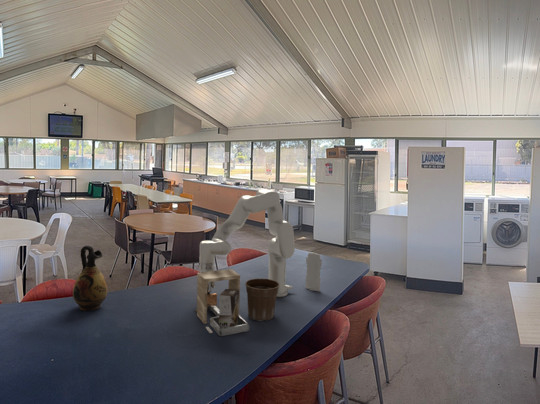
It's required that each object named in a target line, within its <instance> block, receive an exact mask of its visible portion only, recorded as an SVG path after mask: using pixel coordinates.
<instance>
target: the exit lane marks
mask: <svg viewBox="0 0 540 404" xmlns="http://www.w3.org/2000/svg"><path fill="white" fill-rule="evenodd" d="M205 329H206V330H207V331H208V333H209V334H213V330H212V329H211V328H210V327H209V326H205Z"/></svg>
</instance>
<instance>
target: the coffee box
mask: <svg viewBox="0 0 540 404" xmlns="http://www.w3.org/2000/svg"><path fill="white" fill-rule="evenodd" d="M238 299H239V290H235V289H228V288H225V289H224V290H223V291H222V292H221V293H220V294H219V303H218V306H219V324H218V325H219V326H220V327H221V328H226V327H231V326H237V325H239V323H238Z"/></svg>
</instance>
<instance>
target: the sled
mask: <svg viewBox="0 0 540 404" xmlns="http://www.w3.org/2000/svg"><path fill="white" fill-rule="evenodd" d="M217 299H218V294H217V293H210V294H207V307H209V308H210V309H211V310H210V311H211V312H212V313H213V314H214V315H215V316H213V317H212V316H211V317H209V325H210V326H211V328H212V329H213V330H214V331H215V332H216V333H217V335H218V336H219V337H224V336H229V335H234V334H240V333H246V332H249V331H250V324H249V323H248V322H247V321H246V320H245V319H244V318H243V317H242V316H241V315H240V314H239V315H238V325H237V326H231V327H226V328H221V327H220V326H219V309H218V308H217V307H216V306H218V304H217V303H218V300H217Z"/></svg>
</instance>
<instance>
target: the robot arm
mask: <svg viewBox="0 0 540 404" xmlns="http://www.w3.org/2000/svg"><path fill="white" fill-rule="evenodd" d="M280 197H281V196H280V194H279V193H278V192H277V191H276V190H272V189H266V188H260V189H258V190H257V191H256V193H255V195H248V194H246V195H242V196H241V197H239V199H238V200H237V202H236V204H235V206H234V208H233V210H232V211H231V213H230V214H229V216H228V218H227V219H226V220H225V221H224V222H223V223H222V224H221V225H220V226H219V227H218V228H217V230H216V231H215V233H214V235H213V237H212V238H211V240H210V239H209V240H208V239H207V240H206V239H205V240H201V241H200V243H199V255H198V256H199V261H198V263H199V271H200V272H209V271H215V256H226V255H228V254H230V252H231V251H232V245H231V243H230V242H229V241H227V239H228V238H229V237H230V235H231V234H233V233H234V232H235V231H237V230H239V229H241V228H243V226H244V225H245V223H246V221H247V220H248V217H249V216H250V215H251V214H257V213H260V212H264V211H266V213H267V224H268V231H269V233H270V234H271V235H272V236H274V237H273V238H271V239H270V240H269V241H268V244H267V251H268V278H267V279H271V280H274V281H277V282H278V283H279V284H280V286H279V287H278V293H277V296H276V298H282V297H285V296H288V292H289V291H288V290H292V289H293V288H294V286H293V285H288V284H286V272H287V271H286V269H287V260H286V259H290V258H292V256H293V255H294V254H295V249H296V248H295V234H294V226H292V224H291V222H289V221H286V220H285V219H284V218H285V217H284V210H283V207H282V204H281V202H280V200H281V198H280ZM200 272H199V273H200ZM215 285H216V281H214V282H207V294H211V293H212V289H215V287H216V286H215Z"/></svg>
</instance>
